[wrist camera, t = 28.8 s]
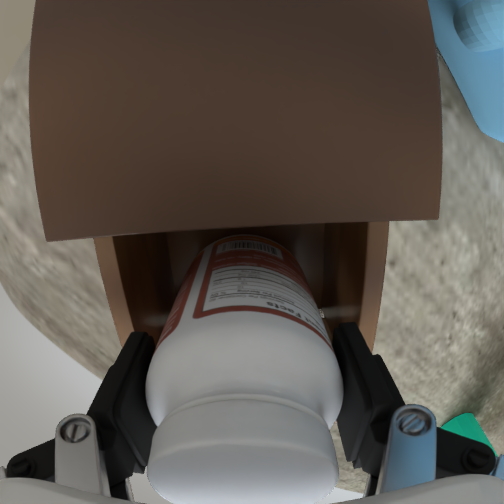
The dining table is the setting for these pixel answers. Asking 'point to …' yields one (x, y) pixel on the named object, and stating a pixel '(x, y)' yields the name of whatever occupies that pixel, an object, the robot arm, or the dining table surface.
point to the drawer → (289, 236)
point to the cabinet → (232, 114)
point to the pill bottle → (244, 383)
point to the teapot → (474, 55)
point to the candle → (467, 428)
